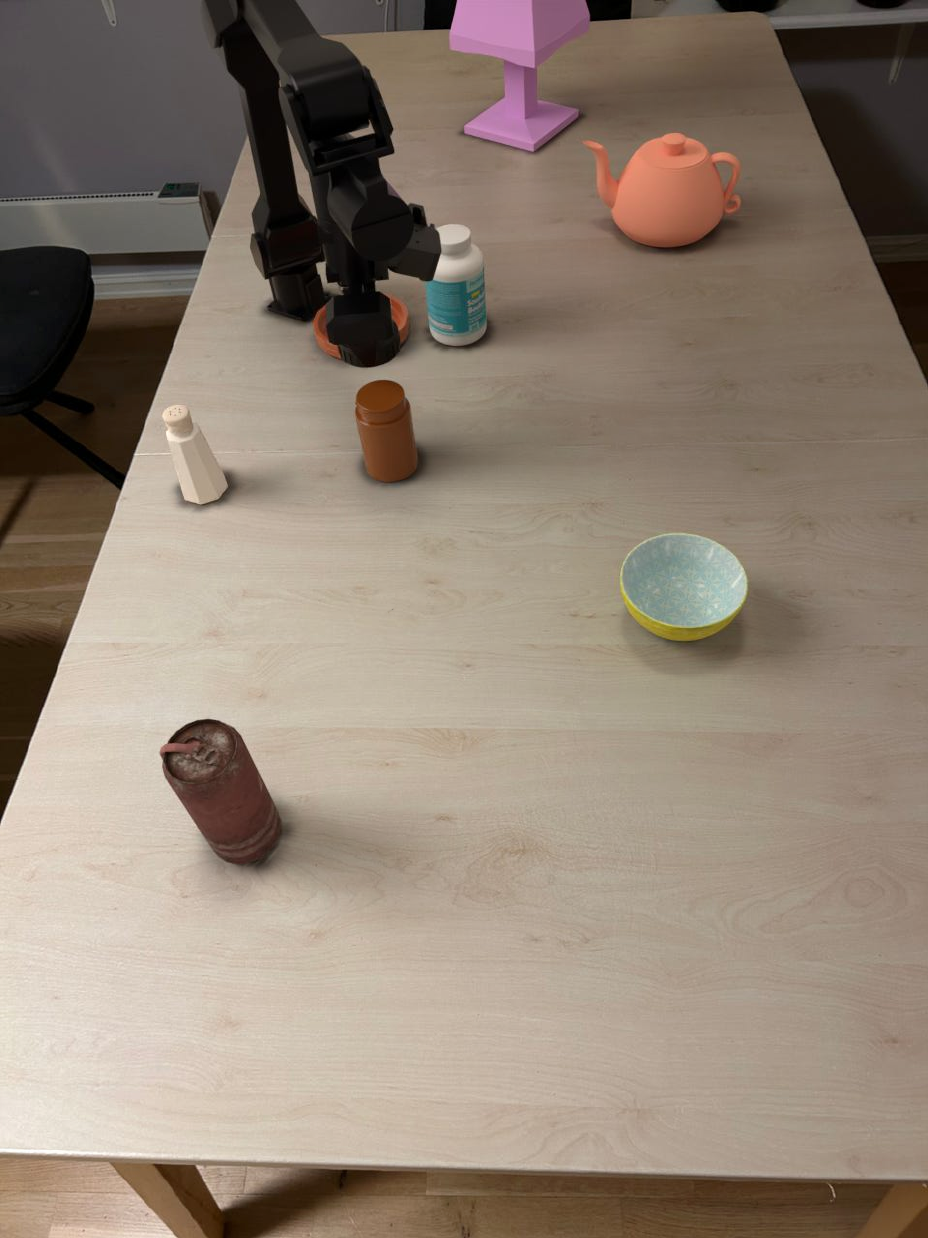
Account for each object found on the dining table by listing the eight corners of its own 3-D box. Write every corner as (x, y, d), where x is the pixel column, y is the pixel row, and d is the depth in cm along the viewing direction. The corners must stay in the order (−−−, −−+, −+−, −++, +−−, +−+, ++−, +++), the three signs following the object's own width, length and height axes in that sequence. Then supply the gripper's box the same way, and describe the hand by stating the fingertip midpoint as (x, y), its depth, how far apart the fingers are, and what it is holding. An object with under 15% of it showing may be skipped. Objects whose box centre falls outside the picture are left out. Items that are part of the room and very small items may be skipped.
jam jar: (355, 472, 106) (340, 403, 98) (384, 440, 109) (372, 371, 101) (399, 488, 104) (388, 419, 96) (428, 455, 107) (419, 386, 99)
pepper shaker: (211, 465, 108) (182, 388, 100) (238, 487, 106) (211, 410, 97) (171, 489, 106) (139, 413, 97) (198, 512, 104) (167, 436, 95)
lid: (402, 364, 98) (400, 347, 96) (339, 371, 98) (336, 354, 96) (399, 326, 102) (397, 309, 100) (338, 332, 102) (335, 316, 100)
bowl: (708, 686, 85) (718, 646, 80) (595, 637, 89) (598, 596, 84) (755, 601, 91) (767, 559, 86) (646, 559, 95) (652, 516, 90)
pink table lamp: (509, 96, 162) (502, -159, 135) (586, 115, 156) (595, -149, 128) (456, 134, 155) (437, -128, 127) (535, 155, 149) (533, -116, 121)
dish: (298, 348, 121) (294, 331, 119) (352, 299, 127) (349, 282, 125) (376, 373, 117) (373, 357, 115) (427, 321, 123) (425, 304, 121)
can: (211, 804, 81) (159, 719, 70) (283, 796, 81) (243, 710, 70) (205, 870, 77) (149, 791, 66) (281, 862, 77) (238, 781, 66)
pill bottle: (481, 350, 118) (475, 252, 108) (424, 346, 120) (413, 249, 109) (492, 316, 123) (487, 218, 112) (437, 312, 124) (427, 215, 113)
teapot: (578, 255, 130) (580, 166, 120) (582, 197, 140) (585, 111, 130) (740, 255, 127) (756, 165, 118) (733, 197, 137) (748, 108, 127)
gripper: (439, 253, 82) (451, 395, 94) (425, 149, 93) (437, 288, 105) (312, 267, 81) (341, 407, 94) (313, 161, 93) (339, 298, 105)
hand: (369, 346), depth 100 cm, fingers closed on lid, 6 cm apart
